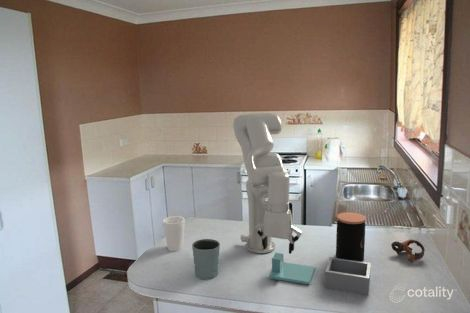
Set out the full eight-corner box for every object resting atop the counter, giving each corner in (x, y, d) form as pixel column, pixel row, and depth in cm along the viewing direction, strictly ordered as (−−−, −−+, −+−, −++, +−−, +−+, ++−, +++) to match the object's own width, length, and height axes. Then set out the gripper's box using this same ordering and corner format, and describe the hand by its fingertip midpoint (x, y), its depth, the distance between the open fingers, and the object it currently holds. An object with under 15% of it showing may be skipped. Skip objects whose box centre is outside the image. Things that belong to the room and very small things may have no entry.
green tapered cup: (188, 273, 143) (187, 243, 141) (211, 264, 149) (209, 236, 147) (203, 283, 135) (201, 252, 133) (226, 274, 141) (225, 244, 139)
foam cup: (160, 250, 162) (158, 222, 160) (171, 242, 171) (169, 215, 168) (179, 254, 159) (177, 225, 156) (190, 245, 167) (188, 217, 165)
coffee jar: (365, 267, 144) (367, 222, 140) (336, 265, 146) (337, 221, 142) (362, 254, 154) (363, 212, 150) (335, 253, 156) (336, 211, 152)
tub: (324, 290, 129) (325, 271, 127) (329, 275, 139) (329, 257, 137) (368, 297, 124) (369, 278, 122) (369, 281, 134) (370, 263, 132)
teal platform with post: (269, 281, 136) (268, 262, 134) (277, 267, 146) (277, 249, 145) (309, 288, 130) (309, 268, 129) (315, 273, 141) (315, 254, 139)
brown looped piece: (417, 252, 155) (426, 240, 150) (418, 271, 148) (427, 259, 143) (387, 243, 157) (395, 231, 152) (387, 262, 150) (395, 249, 145)
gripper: (252, 207, 135) (252, 250, 139) (300, 213, 129) (299, 258, 133) (258, 199, 142) (258, 241, 146) (304, 205, 135) (303, 249, 140)
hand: (277, 249), depth 139 cm, fingers open, 9 cm apart
